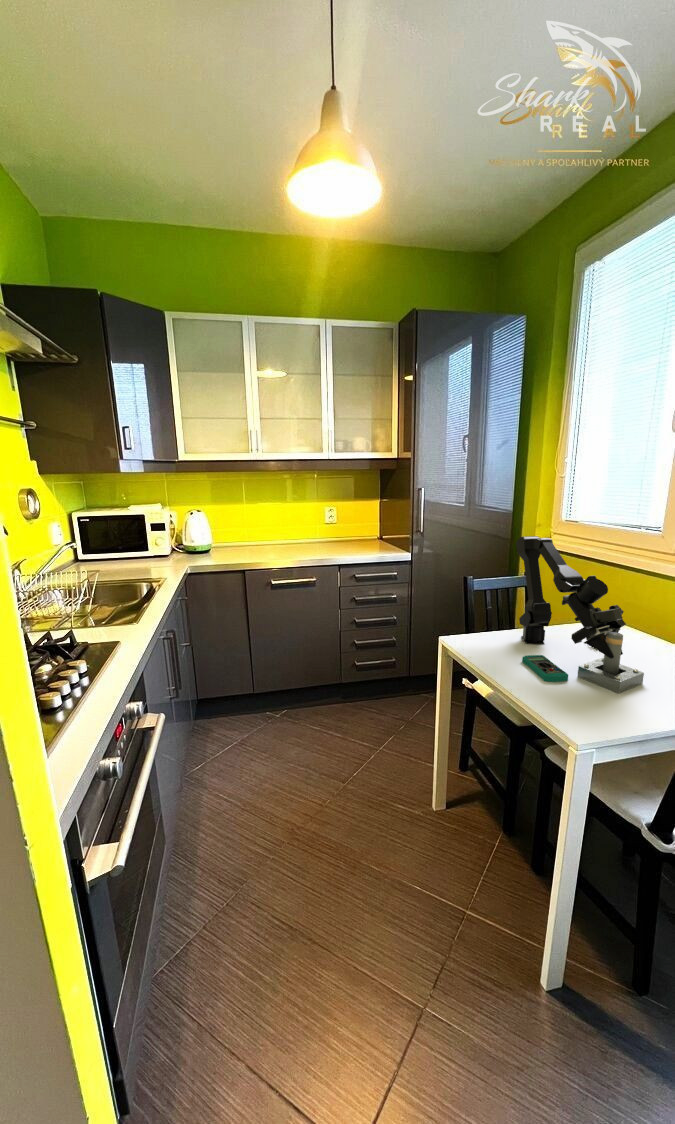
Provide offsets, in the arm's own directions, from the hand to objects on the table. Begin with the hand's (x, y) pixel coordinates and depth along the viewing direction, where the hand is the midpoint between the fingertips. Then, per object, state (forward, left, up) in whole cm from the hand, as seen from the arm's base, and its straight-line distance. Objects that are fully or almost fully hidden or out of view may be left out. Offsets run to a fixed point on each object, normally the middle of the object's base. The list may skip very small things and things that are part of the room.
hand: (617, 656), depth 123 cm
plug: (-1, +1, -7) cm, 7 cm away
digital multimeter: (-18, +6, -9) cm, 21 cm away
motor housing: (-1, +1, -8) cm, 8 cm away
